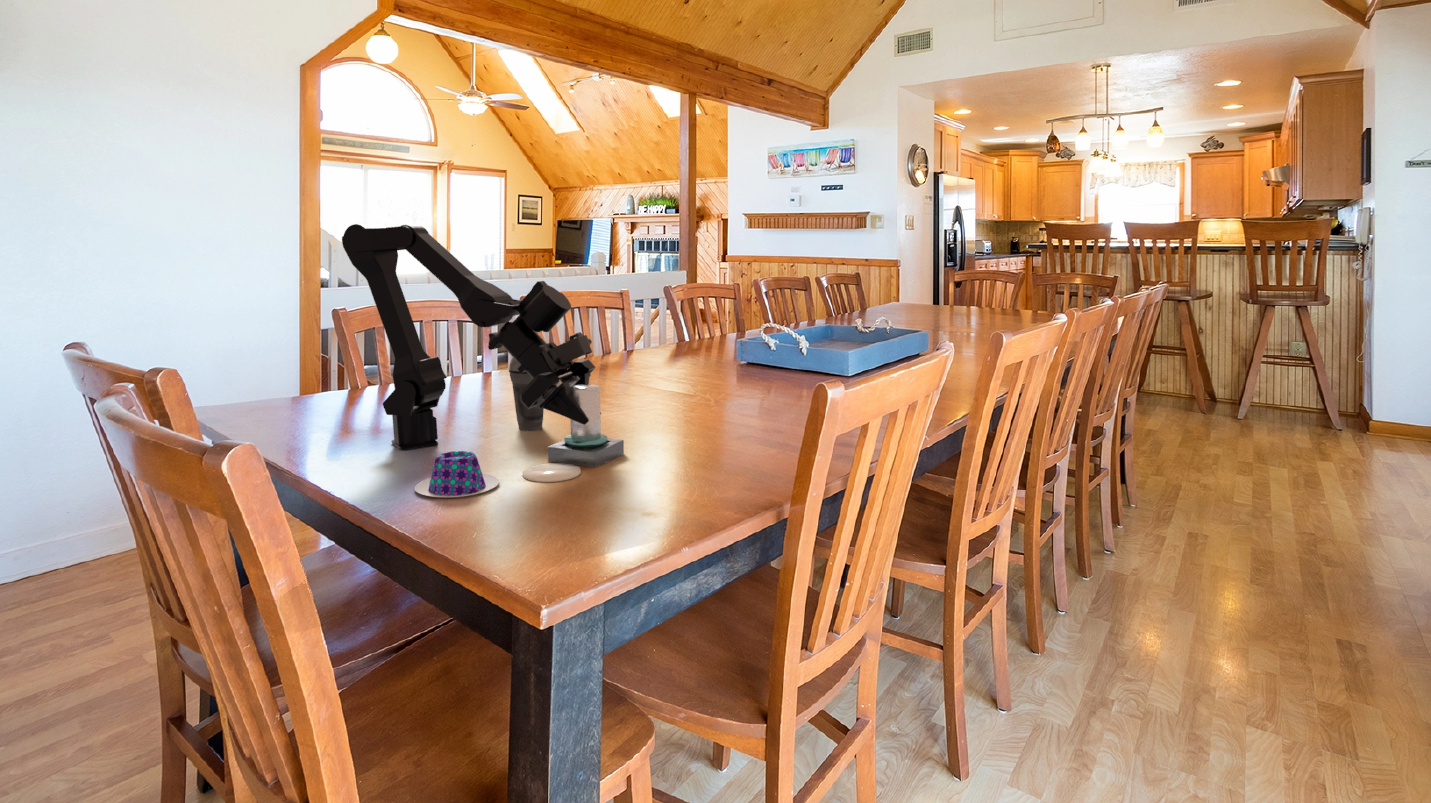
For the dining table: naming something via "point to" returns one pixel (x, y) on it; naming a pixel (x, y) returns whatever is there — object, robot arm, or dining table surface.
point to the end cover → (590, 404)
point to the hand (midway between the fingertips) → (593, 419)
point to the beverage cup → (525, 417)
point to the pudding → (456, 476)
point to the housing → (586, 453)
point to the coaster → (551, 472)
